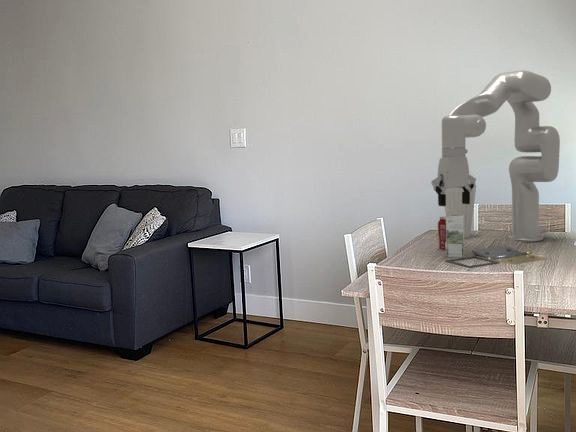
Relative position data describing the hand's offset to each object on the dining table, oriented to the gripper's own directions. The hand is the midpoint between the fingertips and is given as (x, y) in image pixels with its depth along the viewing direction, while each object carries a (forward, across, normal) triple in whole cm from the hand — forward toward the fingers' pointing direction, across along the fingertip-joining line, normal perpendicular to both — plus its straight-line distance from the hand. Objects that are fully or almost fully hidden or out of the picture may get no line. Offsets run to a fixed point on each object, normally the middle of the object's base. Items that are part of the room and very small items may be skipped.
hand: (454, 204), depth 204 cm
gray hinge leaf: (+17, -13, +7) cm, 22 cm away
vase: (+18, -28, -32) cm, 46 cm away
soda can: (+18, -7, -12) cm, 23 cm away
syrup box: (+18, -1, 0) cm, 18 cm away
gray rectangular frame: (+18, +2, +12) cm, 22 cm away
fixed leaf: (+18, -13, +16) cm, 27 cm away
